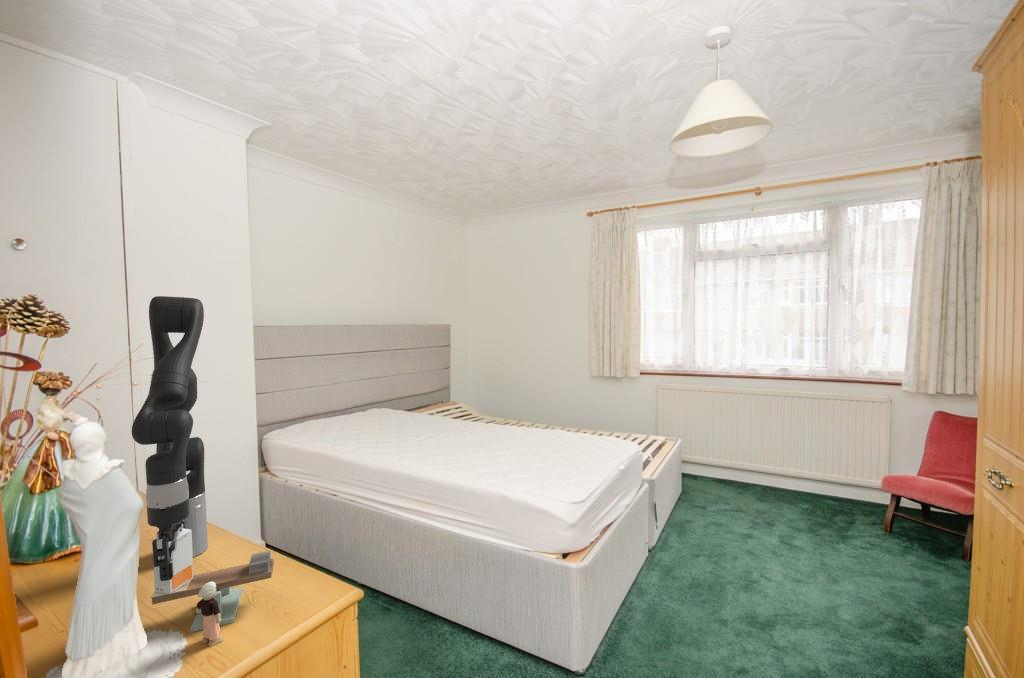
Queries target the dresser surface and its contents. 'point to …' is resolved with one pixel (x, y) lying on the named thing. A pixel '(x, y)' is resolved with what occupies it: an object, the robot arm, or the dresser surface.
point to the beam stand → (222, 607)
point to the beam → (223, 578)
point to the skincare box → (177, 565)
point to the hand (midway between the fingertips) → (172, 569)
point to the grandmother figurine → (210, 614)
